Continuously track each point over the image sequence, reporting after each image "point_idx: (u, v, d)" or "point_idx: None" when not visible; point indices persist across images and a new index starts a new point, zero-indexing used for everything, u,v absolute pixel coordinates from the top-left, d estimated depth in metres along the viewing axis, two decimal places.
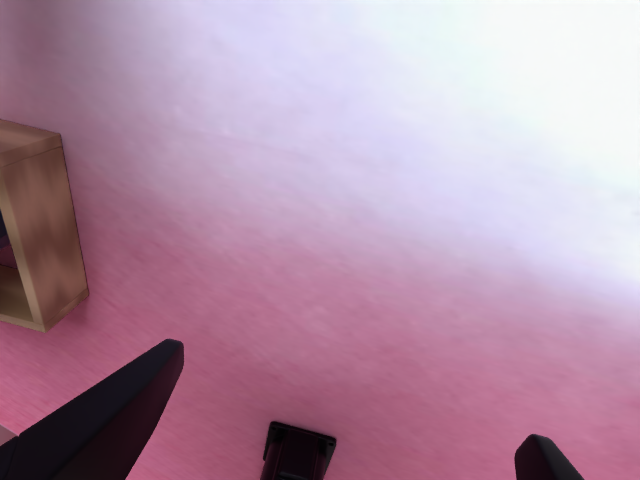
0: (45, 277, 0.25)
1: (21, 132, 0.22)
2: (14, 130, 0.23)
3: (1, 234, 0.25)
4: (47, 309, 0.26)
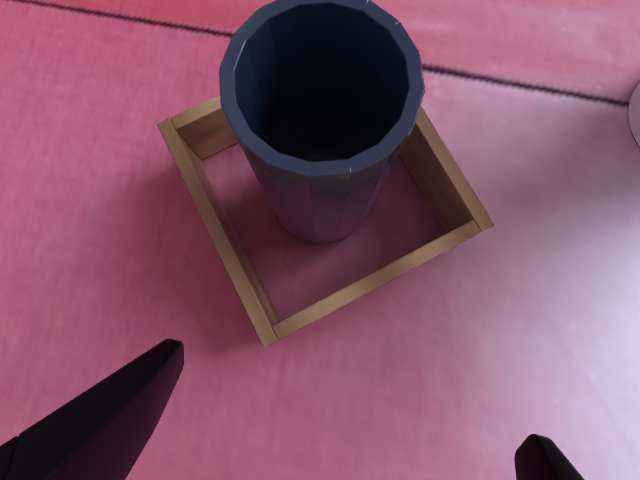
0: None
1: None
2: None
3: (340, 235, 0.21)
4: None
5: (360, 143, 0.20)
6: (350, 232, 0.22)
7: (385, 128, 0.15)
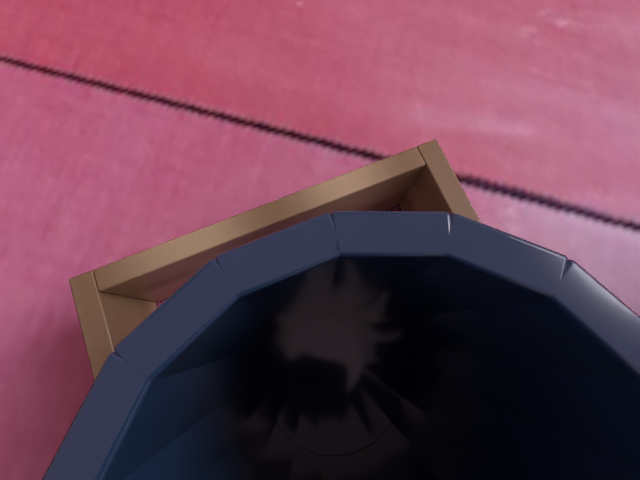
0: None
1: None
2: None
3: None
4: None
5: (411, 347, 0.12)
6: None
7: (501, 438, 0.07)
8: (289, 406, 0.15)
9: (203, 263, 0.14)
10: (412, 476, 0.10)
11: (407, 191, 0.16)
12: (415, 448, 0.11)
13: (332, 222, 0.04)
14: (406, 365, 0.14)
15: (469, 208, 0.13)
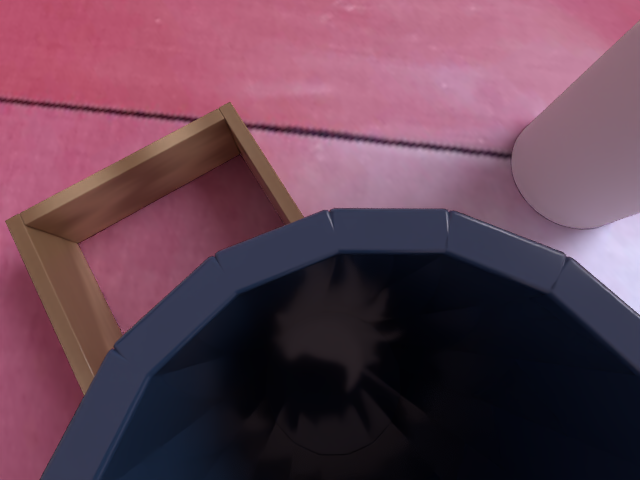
0: None
1: None
2: None
3: None
4: None
5: (411, 346, 0.12)
6: None
7: (500, 437, 0.07)
8: (289, 405, 0.15)
9: (95, 204, 0.21)
10: (412, 475, 0.10)
11: (233, 141, 0.23)
12: (414, 447, 0.11)
13: (332, 219, 0.04)
14: (406, 364, 0.14)
15: (252, 141, 0.21)
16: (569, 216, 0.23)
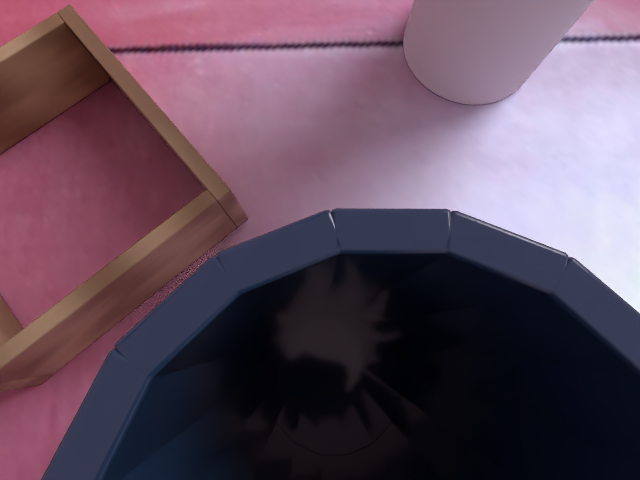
0: (71, 326, 0.16)
1: None
2: None
3: None
4: (11, 367, 0.15)
5: (411, 346, 0.12)
6: None
7: (501, 437, 0.07)
8: (289, 406, 0.15)
9: None
10: (412, 475, 0.10)
11: (93, 58, 0.21)
12: (415, 447, 0.11)
13: (332, 220, 0.04)
14: (406, 364, 0.14)
15: (97, 41, 0.18)
16: (465, 88, 0.22)
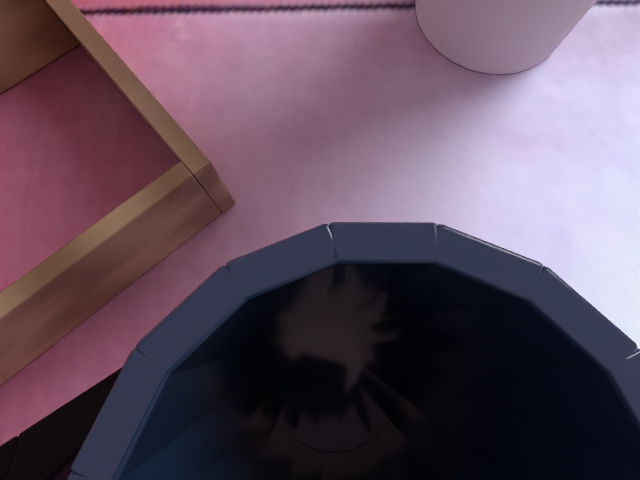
0: (10, 329, 0.13)
1: None
2: None
3: None
4: None
5: (408, 346, 0.12)
6: None
7: (490, 432, 0.07)
8: (290, 404, 0.15)
9: None
10: (408, 471, 0.10)
11: (55, 16, 0.18)
12: (411, 444, 0.12)
13: (330, 232, 0.04)
14: (404, 364, 0.14)
15: None
16: (489, 52, 0.19)
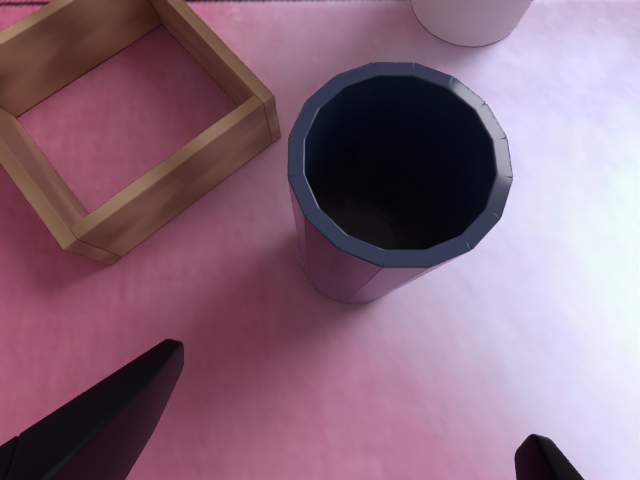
0: (146, 202, 0.20)
1: None
2: None
3: None
4: (100, 229, 0.19)
5: (404, 206, 0.19)
6: (382, 295, 0.21)
7: (446, 202, 0.14)
8: None
9: (22, 59, 0.22)
10: None
11: (150, 2, 0.25)
12: None
13: (374, 68, 0.11)
14: (402, 231, 0.21)
15: None
16: (463, 29, 0.26)
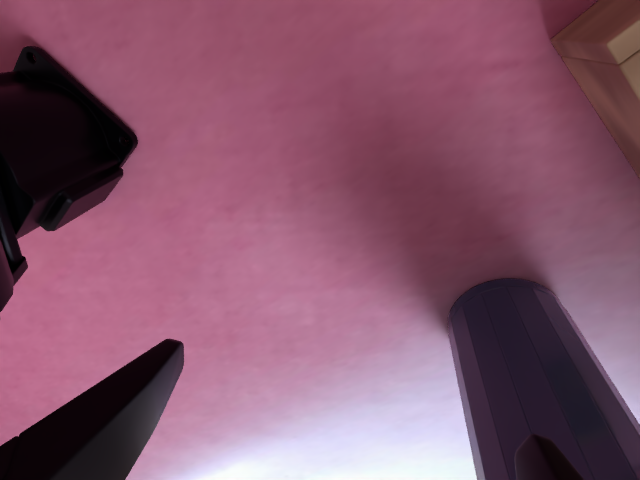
0: None
1: None
2: None
3: (453, 359, 0.21)
4: (624, 88, 0.12)
5: None
6: None
7: None
8: None
9: None
10: None
11: None
12: None
13: None
14: None
15: None
16: None
